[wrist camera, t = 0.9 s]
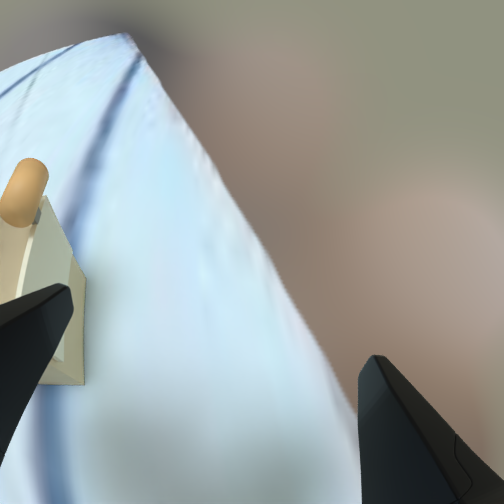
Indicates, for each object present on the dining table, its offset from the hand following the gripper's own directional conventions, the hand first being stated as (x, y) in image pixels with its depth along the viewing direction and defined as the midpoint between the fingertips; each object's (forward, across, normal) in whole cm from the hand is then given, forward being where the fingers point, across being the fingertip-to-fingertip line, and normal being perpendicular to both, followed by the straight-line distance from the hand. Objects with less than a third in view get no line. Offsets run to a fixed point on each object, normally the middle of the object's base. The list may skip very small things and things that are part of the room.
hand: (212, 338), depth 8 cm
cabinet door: (+8, +11, +8) cm, 16 cm away
